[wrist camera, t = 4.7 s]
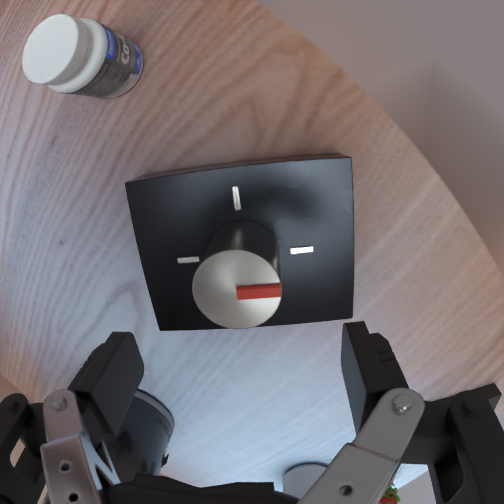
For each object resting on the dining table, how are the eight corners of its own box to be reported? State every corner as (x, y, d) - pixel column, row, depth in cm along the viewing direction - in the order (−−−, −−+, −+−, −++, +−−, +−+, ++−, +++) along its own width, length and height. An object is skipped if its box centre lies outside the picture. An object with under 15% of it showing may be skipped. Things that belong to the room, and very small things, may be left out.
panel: (170, 310, 26) (159, 332, 23) (141, 175, 22) (123, 183, 19) (344, 297, 25) (353, 319, 22) (340, 153, 21) (352, 157, 18)
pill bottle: (157, 66, 19) (100, 39, 11) (110, 111, 20) (39, 109, 12) (122, 27, 18) (60, -8, 10) (78, 71, 19) (6, 58, 11)
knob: (214, 288, 21) (199, 334, 16) (204, 224, 20) (182, 256, 15) (281, 283, 21) (285, 330, 16) (276, 217, 19) (278, 248, 14)
